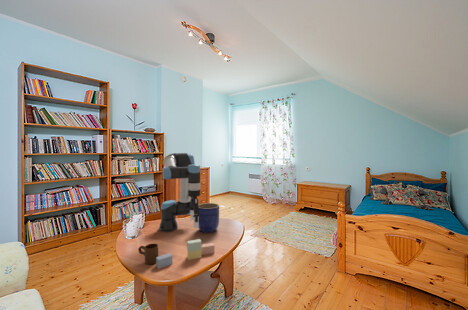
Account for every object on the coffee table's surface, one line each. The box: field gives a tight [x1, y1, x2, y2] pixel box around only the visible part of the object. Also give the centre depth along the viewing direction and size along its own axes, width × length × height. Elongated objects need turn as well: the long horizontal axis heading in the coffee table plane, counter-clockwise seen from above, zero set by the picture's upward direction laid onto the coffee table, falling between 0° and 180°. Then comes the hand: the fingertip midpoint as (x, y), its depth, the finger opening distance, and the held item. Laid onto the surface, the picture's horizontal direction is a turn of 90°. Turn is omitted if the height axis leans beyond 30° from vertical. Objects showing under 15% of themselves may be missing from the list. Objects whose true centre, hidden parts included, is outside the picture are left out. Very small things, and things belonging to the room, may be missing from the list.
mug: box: [138, 243, 159, 266], centre depth 125 cm, size 12×8×9 cm, turn 83°
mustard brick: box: [187, 250, 202, 261], centre depth 131 cm, size 8×4×5 cm, turn 108°
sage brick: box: [186, 238, 202, 253], centre depth 130 cm, size 8×4×5 cm, turn 114°
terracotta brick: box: [201, 242, 215, 256], centre depth 137 cm, size 8×4×5 cm, turn 110°
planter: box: [197, 202, 220, 234], centre depth 175 cm, size 18×18×21 cm
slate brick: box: [155, 252, 173, 269], centre depth 122 cm, size 8×4×5 cm, turn 128°
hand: (194, 223), depth 131 cm, fingers open, 13 cm apart
